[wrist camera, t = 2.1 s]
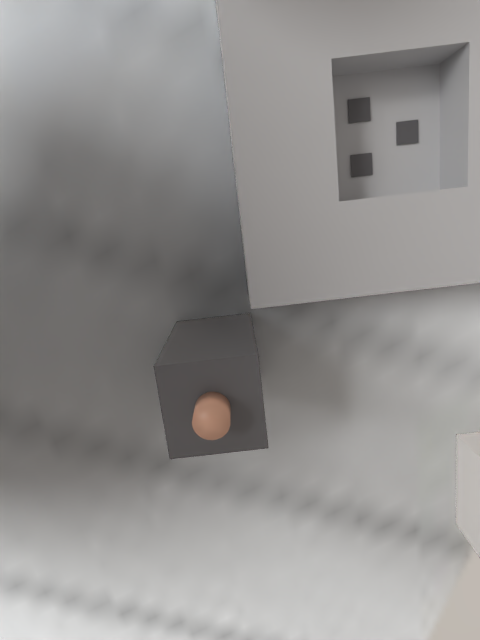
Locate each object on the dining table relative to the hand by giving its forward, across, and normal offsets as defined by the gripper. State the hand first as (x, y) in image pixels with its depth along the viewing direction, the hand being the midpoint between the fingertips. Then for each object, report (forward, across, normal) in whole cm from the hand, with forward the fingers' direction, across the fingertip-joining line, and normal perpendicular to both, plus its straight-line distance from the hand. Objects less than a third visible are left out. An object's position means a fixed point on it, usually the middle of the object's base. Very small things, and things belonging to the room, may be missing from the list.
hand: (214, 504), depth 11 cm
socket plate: (+12, +9, +10) cm, 18 cm away
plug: (+12, 0, 0) cm, 13 cm away
